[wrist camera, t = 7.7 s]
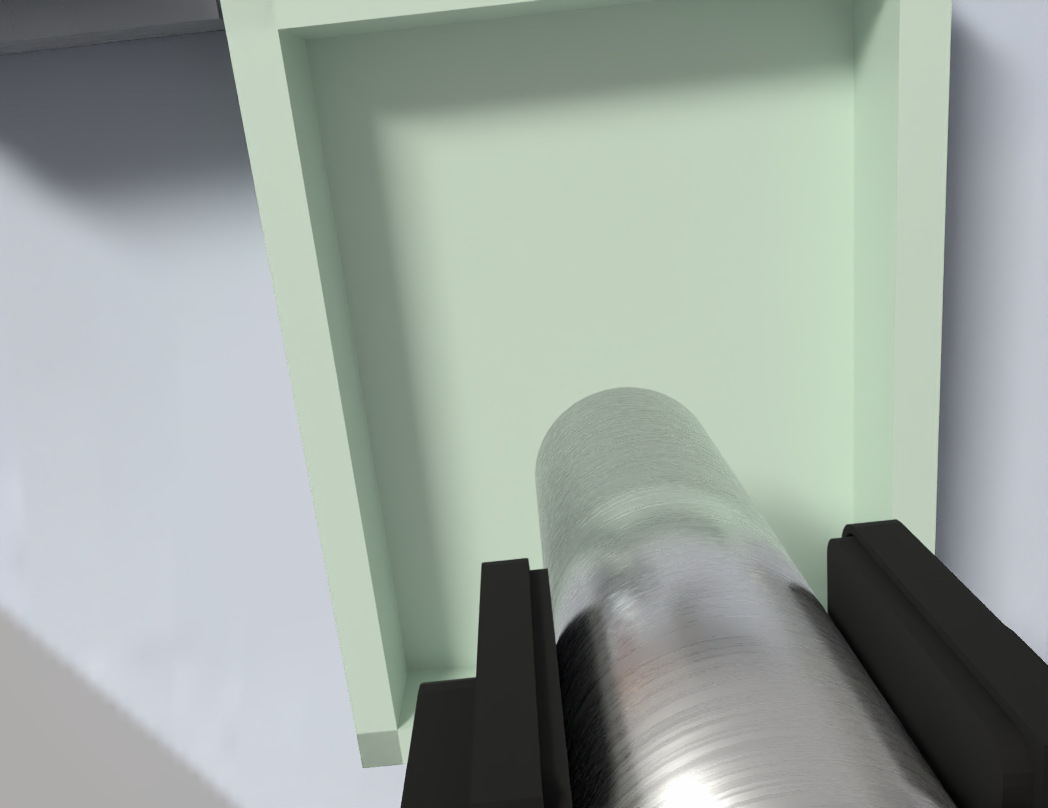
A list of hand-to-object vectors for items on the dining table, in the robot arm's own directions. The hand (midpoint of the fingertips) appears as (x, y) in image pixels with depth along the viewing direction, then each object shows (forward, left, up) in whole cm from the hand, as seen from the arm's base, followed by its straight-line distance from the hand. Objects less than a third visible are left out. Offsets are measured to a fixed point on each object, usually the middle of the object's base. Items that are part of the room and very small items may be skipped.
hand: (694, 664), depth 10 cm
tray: (0, 0, -14) cm, 14 cm away
